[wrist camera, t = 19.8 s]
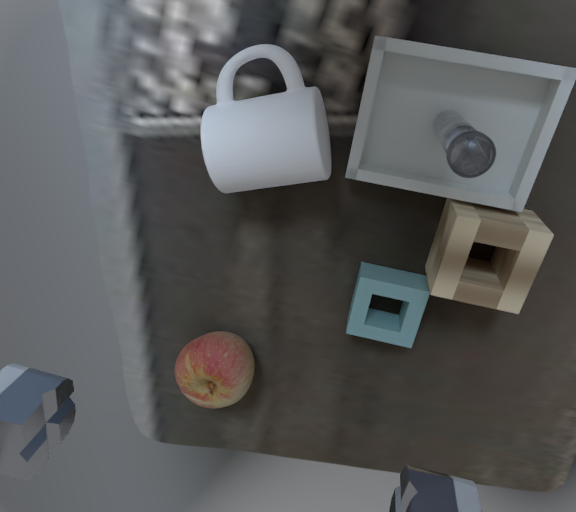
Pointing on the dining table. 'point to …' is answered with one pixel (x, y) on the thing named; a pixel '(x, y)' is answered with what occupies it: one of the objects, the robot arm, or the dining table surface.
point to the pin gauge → (464, 145)
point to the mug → (266, 130)
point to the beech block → (503, 265)
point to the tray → (469, 104)
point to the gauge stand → (380, 322)
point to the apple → (215, 369)
